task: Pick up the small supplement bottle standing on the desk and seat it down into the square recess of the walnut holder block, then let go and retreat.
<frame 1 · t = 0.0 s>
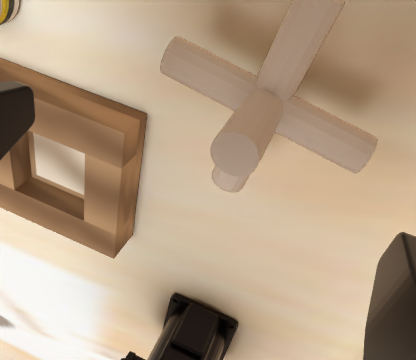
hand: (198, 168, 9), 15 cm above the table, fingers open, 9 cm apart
pipe connector: (288, 67, 22), on the table
holder: (71, 154, 31), on the table
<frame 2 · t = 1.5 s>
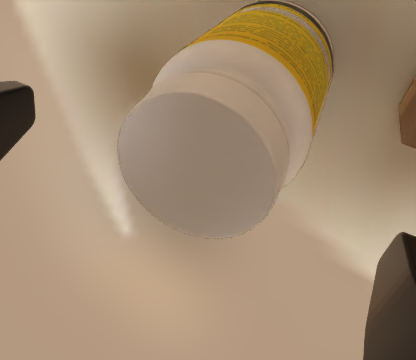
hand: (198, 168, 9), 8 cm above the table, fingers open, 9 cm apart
supplement bottle: (273, 62, 16), on the table
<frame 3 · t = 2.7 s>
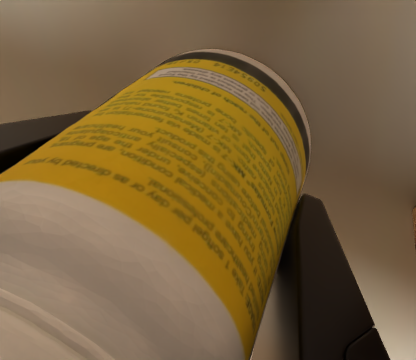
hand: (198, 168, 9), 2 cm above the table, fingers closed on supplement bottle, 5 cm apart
supplement bottle: (223, 134, 11), on the table, touching gripper
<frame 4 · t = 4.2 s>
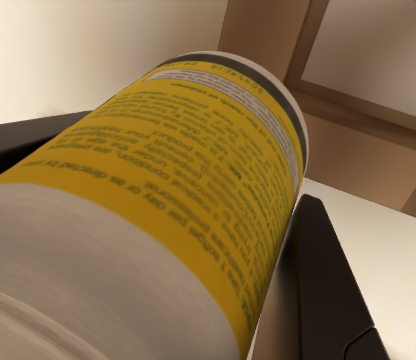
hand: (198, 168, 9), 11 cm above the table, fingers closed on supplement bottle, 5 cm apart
holder: (388, 30, 16), on the table
supplement bottle: (221, 135, 11), point 9 cm above the table, touching gripper
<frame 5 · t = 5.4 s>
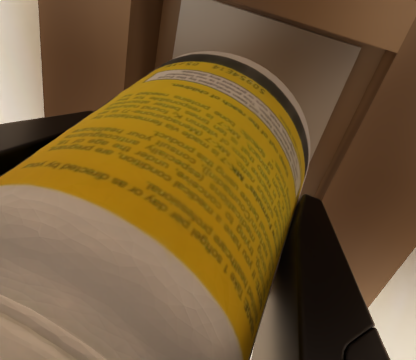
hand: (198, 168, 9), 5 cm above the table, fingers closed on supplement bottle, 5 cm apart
holder: (253, 90, 13), on the table
supplement bottle: (222, 136, 11), point 4 cm above the table, touching gripper
when the fingers open (4 cm above the table, at t = 6.0 s): supplement bottle drops 1 cm, resting on holder.
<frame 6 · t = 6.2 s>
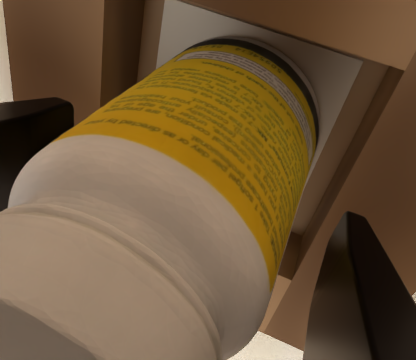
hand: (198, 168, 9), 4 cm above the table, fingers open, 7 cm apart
holder: (244, 104, 12), on the table
supplement bottle: (239, 116, 11), point 1 cm above the table, touching holder
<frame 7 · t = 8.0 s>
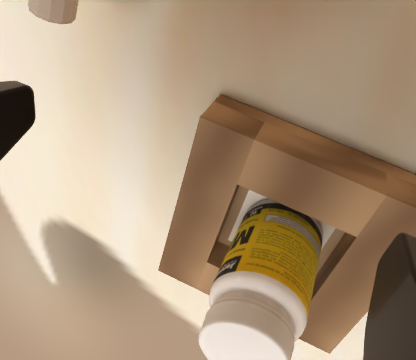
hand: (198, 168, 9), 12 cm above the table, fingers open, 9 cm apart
holder: (284, 218, 24), on the table
supplement bottle: (282, 227, 23), point 1 cm above the table, touching holder
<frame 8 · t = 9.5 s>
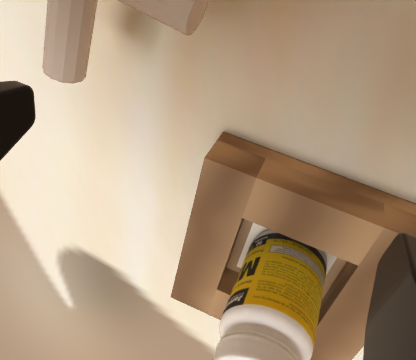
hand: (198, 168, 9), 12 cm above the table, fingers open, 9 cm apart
holder: (289, 244, 25), on the table
supplement bottle: (288, 254, 24), point 1 cm above the table, touching holder
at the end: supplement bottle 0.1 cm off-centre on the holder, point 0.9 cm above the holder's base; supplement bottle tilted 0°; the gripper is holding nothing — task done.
